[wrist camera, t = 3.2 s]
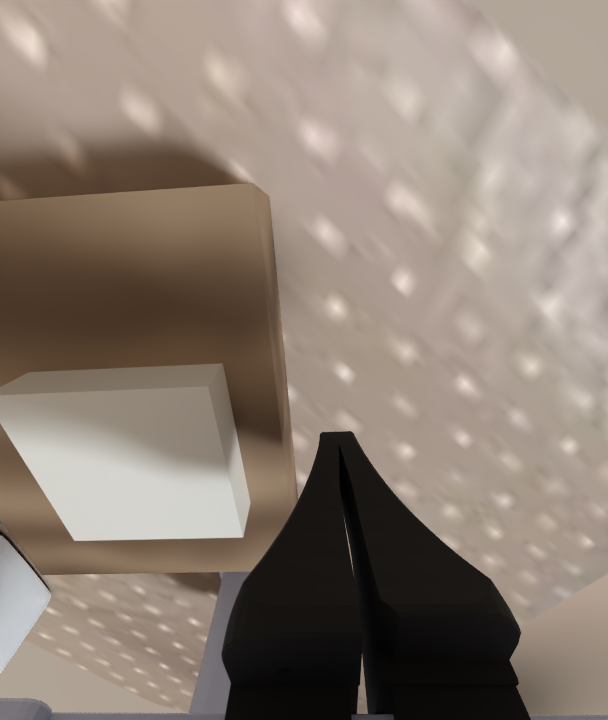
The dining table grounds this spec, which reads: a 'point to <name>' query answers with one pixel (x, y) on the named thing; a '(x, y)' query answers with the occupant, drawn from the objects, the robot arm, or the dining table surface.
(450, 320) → the dining table surface
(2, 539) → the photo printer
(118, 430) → the coaster
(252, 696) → the robot arm
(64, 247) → the wood grain panel
